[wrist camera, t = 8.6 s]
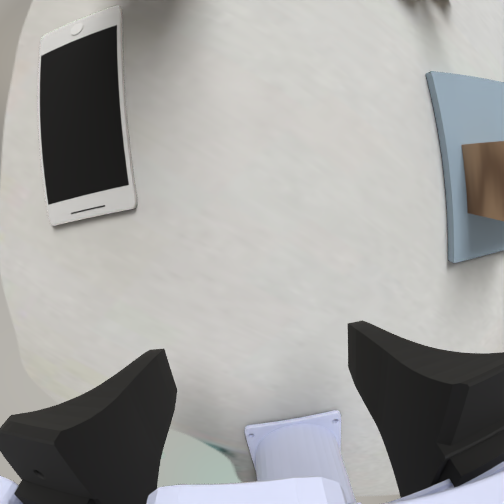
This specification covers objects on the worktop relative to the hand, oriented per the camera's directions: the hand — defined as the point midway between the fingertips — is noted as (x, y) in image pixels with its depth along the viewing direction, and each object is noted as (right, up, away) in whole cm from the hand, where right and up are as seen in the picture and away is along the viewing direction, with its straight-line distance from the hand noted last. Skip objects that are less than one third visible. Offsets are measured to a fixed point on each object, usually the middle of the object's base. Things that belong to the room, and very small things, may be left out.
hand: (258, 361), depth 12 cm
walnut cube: (+18, +10, +7) cm, 21 cm away
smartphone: (-12, +14, +7) cm, 20 cm away
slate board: (+19, +11, +7) cm, 23 cm away
